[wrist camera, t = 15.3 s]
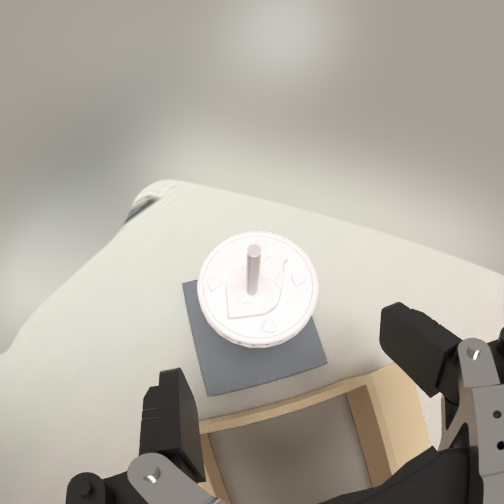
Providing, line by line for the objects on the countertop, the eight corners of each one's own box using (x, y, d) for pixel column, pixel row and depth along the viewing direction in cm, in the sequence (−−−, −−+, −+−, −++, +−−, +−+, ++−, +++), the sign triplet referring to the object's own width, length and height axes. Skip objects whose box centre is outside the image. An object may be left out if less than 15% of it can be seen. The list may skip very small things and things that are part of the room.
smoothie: (198, 331, 23) (144, 251, 10) (247, 275, 25) (249, 155, 13) (260, 379, 21) (282, 363, 9) (307, 319, 24) (372, 230, 11)
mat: (209, 396, 21) (207, 396, 20) (184, 287, 26) (182, 283, 25) (324, 364, 23) (327, 362, 22) (289, 262, 27) (290, 257, 26)
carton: (204, 547, 14) (197, 573, 9) (160, 426, 20) (140, 433, 15) (410, 481, 17) (439, 491, 12) (378, 364, 22) (405, 356, 18)
